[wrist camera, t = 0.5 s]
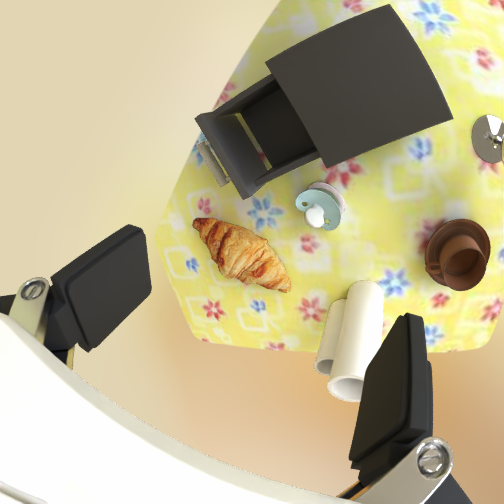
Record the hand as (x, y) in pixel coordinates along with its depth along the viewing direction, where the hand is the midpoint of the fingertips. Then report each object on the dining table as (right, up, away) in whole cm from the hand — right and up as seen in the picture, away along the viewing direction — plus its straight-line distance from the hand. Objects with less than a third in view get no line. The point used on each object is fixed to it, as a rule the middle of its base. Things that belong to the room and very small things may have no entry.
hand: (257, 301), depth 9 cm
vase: (+19, -8, +39) cm, 44 cm away
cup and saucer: (+32, +2, +27) cm, 42 cm away
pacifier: (+11, +9, +33) cm, 36 cm away
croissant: (-1, +2, +43) cm, 43 cm away
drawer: (+3, +19, +29) cm, 35 cm away
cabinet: (+15, +24, +22) cm, 35 cm away
